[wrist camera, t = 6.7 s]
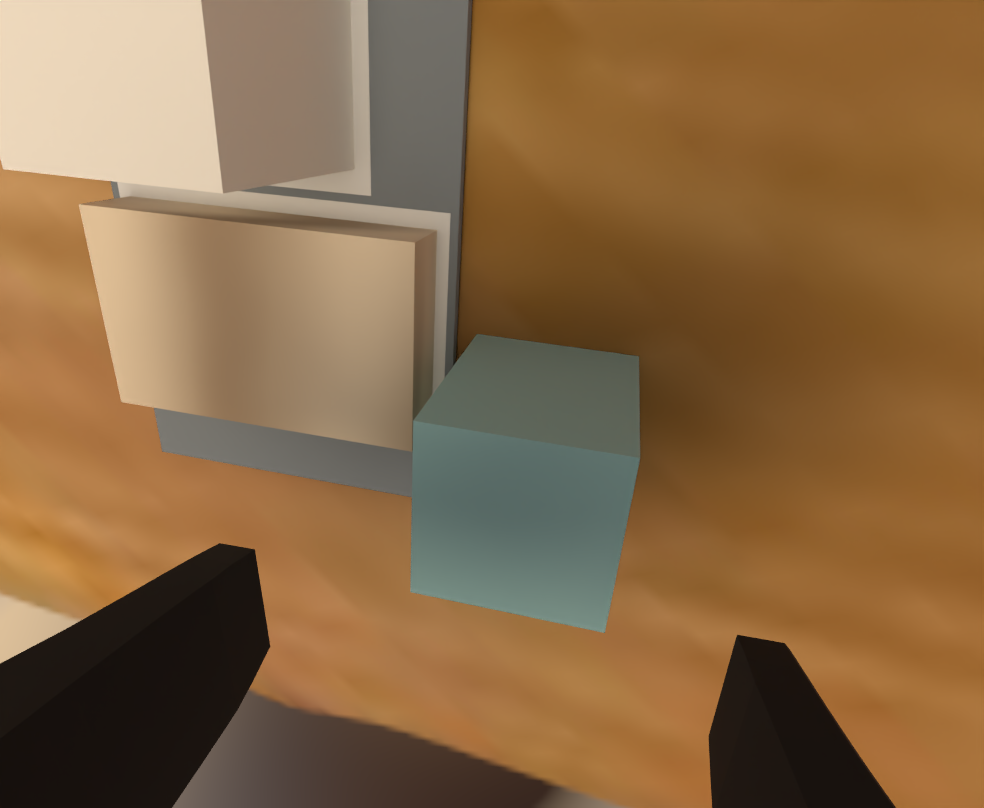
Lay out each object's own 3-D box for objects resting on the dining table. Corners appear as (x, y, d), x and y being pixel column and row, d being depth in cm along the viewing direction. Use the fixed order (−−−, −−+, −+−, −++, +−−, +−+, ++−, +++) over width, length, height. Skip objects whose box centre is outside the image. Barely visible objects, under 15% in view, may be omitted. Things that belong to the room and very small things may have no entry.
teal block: (639, 355, 15) (640, 458, 10) (613, 494, 17) (604, 632, 12) (477, 333, 15) (413, 420, 11) (469, 469, 17) (410, 591, 13)
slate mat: (478, -126, 11) (473, -131, 11) (449, 497, 18) (446, 503, 17) (61, -131, 13) (49, -137, 13) (169, 446, 19) (161, 451, 19)
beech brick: (437, 230, 14) (414, 242, 13) (431, 422, 16) (411, 451, 15) (130, 196, 15) (78, 204, 14) (162, 379, 18) (121, 401, 16)
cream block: (349, -46, 12) (185, -138, 8) (354, 169, 14) (223, 193, 10) (169, -53, 13) (-77, -143, 8) (195, 153, 15) (2, 168, 10)
